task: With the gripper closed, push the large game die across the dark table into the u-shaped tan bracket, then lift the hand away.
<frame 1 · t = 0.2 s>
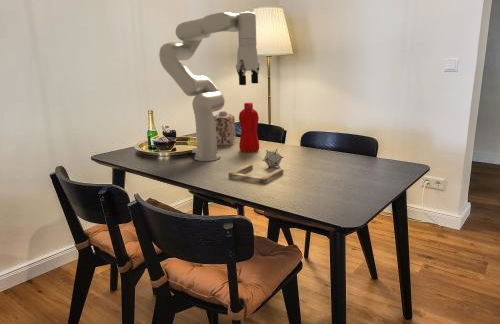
hand: (248, 84, 175), 36 cm above the table, tool pointing down, fingers open, 9 cm apart
water bottle: (250, 151, 209), on the table
game die: (272, 167, 179), on the table
u-shaped tan bracket: (257, 175, 168), on the table
decorative jar: (224, 143, 228), on the table
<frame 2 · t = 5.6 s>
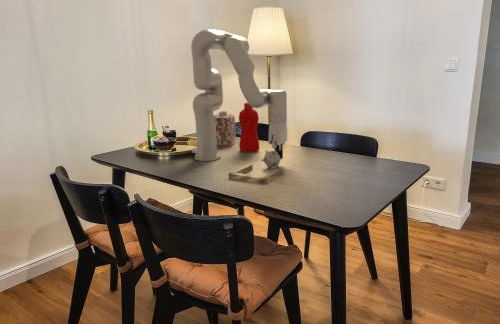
hand: (278, 158, 182), 3 cm above the table, tool pointing down, fingers closed
game die: (272, 168, 178), on the table, touching gripper
everything else where it was.
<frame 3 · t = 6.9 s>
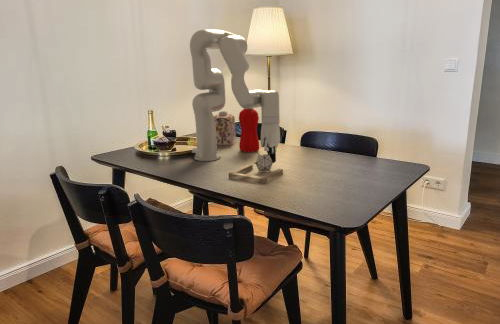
hand: (271, 161, 175), 3 cm above the table, tool pointing down, fingers closed
game die: (264, 171, 173), on the table, touching gripper
everything else where it was.
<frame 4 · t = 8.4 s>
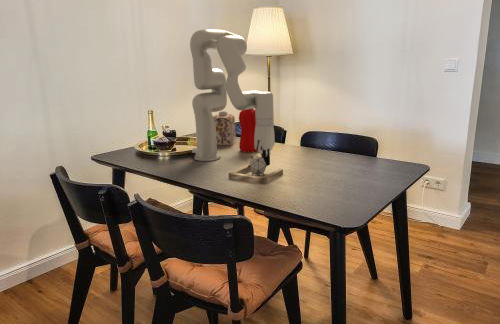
hand: (265, 164, 171), 3 cm above the table, tool pointing down, fingers closed
game die: (257, 175, 169), on the table, touching gripper
everything else where it was.
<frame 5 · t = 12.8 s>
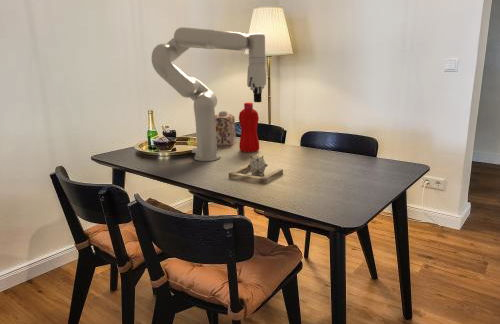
hand: (257, 102, 188), 27 cm above the table, tool pointing down, fingers closed
game die: (257, 175, 169), on the table
everything else where it was.
at the end: game die inside the target area on the u-shaped tan bracket (0.8 cm from its centre), point 0.0 cm above the u-shaped tan bracket's base; game die touching table; game die moved 13.0 cm from its start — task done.
